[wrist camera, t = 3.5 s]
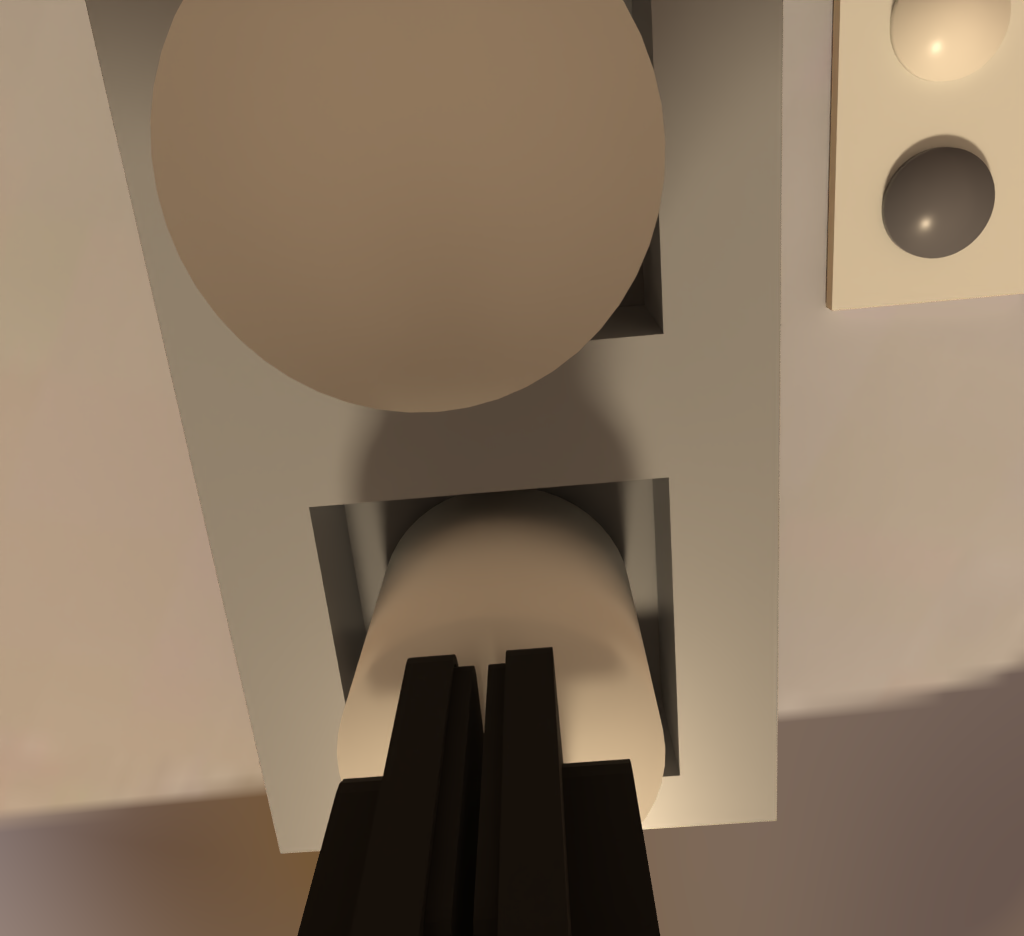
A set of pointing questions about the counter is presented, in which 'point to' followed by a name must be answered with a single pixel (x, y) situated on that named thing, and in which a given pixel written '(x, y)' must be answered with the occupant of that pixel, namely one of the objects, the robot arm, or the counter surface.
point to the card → (926, 152)
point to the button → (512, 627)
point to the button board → (519, 439)
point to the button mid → (409, 185)
